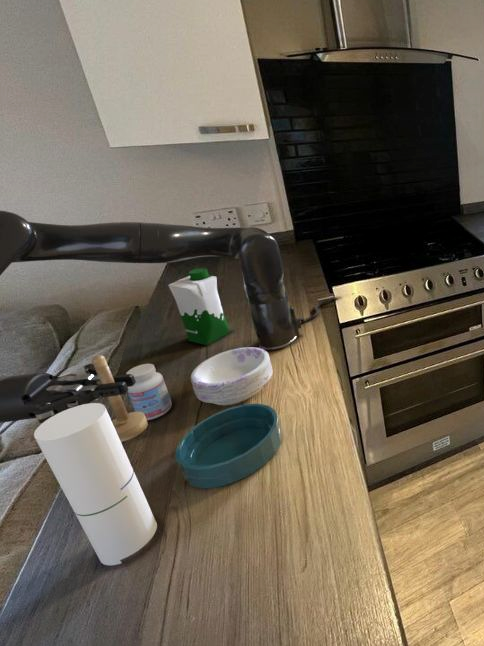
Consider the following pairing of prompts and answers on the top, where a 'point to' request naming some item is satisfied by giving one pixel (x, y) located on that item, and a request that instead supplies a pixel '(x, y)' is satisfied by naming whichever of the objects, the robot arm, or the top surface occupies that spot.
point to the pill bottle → (149, 392)
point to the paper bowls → (232, 376)
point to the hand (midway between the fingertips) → (129, 383)
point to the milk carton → (200, 307)
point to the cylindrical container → (97, 480)
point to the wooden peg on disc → (120, 406)
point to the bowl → (229, 445)
